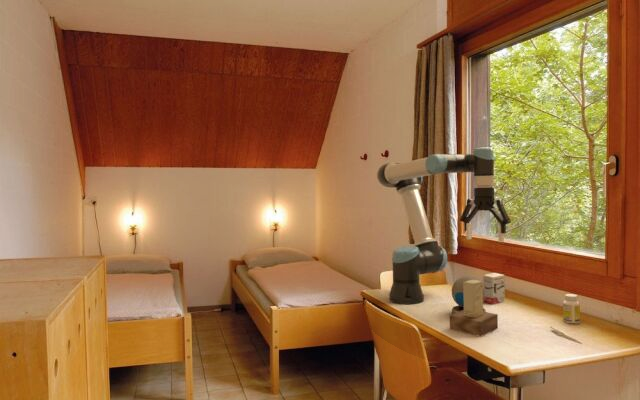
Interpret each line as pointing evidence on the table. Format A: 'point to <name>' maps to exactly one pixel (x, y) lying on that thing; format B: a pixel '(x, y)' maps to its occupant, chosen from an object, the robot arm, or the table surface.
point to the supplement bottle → (571, 309)
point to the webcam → (458, 293)
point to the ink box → (494, 288)
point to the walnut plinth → (474, 323)
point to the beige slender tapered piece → (564, 334)
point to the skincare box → (473, 298)
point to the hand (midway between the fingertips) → (484, 240)
